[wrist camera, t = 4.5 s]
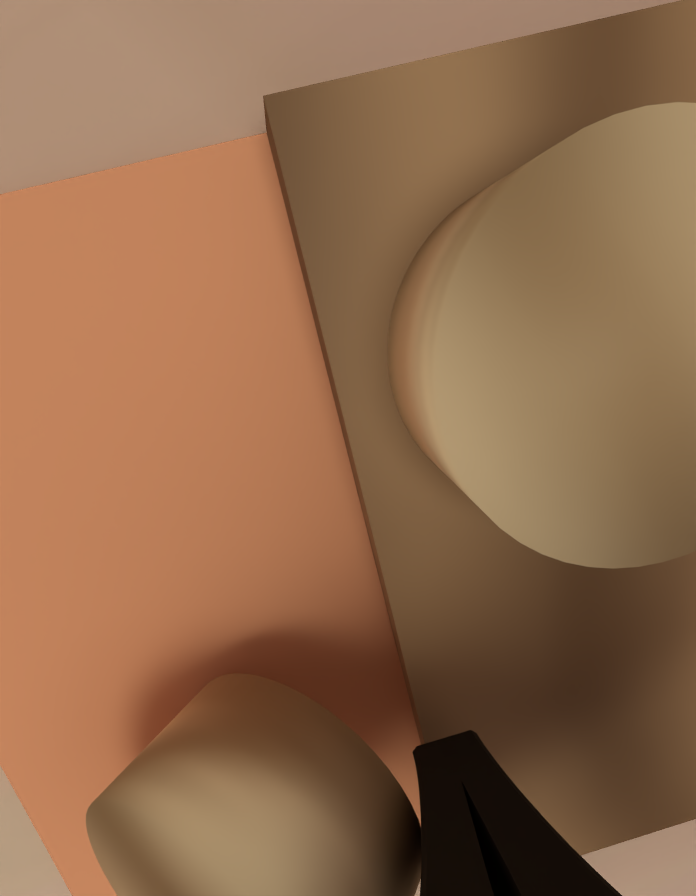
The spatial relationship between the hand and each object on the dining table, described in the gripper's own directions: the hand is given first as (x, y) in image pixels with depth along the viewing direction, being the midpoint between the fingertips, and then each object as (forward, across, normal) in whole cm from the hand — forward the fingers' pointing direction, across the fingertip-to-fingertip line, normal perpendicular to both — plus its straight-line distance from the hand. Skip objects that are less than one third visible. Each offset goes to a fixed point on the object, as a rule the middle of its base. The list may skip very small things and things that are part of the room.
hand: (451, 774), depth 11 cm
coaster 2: (0, -4, -8) cm, 9 cm away
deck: (+3, -5, -4) cm, 7 cm away
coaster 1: (0, +4, 0) cm, 4 cm away
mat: (+3, +5, -4) cm, 7 cm away
